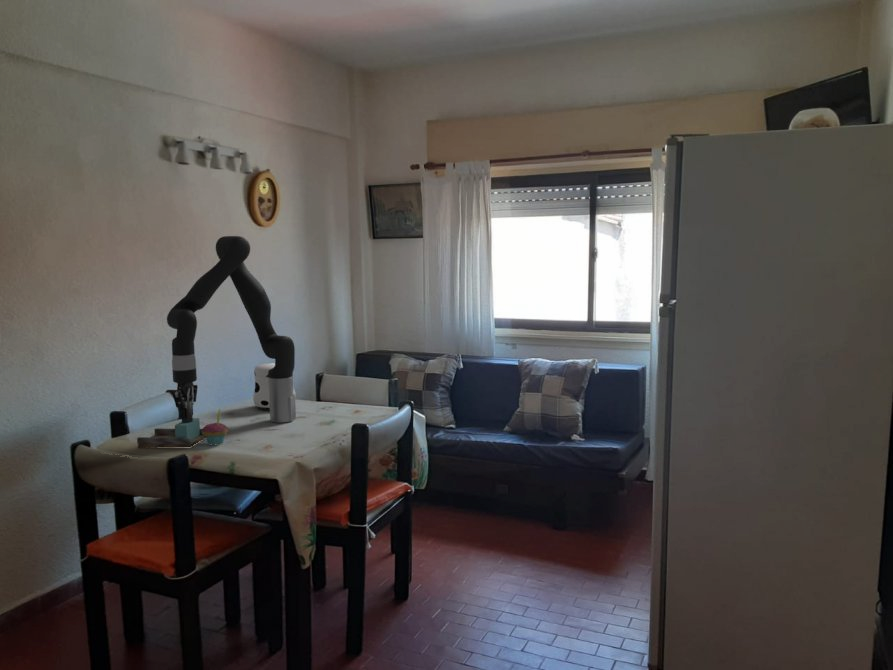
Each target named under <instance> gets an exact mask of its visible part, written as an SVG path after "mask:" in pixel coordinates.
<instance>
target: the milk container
mask: <svg viewBox="0 0 893 670" xmlns="http://www.w3.org/2000/svg"><path fill="white" fill-rule="evenodd" d="M274 366H275V362H274V363H272V362H271V363H270V362H269V363H263V364H257V365H255V366H254V391H253V395H252V396H253V403H254V406H255V407H256V408H258V409H262V410H267V411H268V410H269V411H270V407H269V382H268V371H269V370H270V369H272V368H274ZM293 395H295V398H296V390H295V387H294V386H293Z"/></svg>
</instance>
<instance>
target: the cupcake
mask: <svg viewBox="0 0 893 670" xmlns="http://www.w3.org/2000/svg"><path fill="white" fill-rule="evenodd" d="M220 418H221V409H219V410H218V411H217V418H216V419H217V420H216V422H214V423H208V424H206V425H205V426H203V428H201V429H202V435H203V436H205V437H206V439H205V440H206V442H207V444H208V445H209V444H212V445H211V446H216V445H215V444H220V445H222V444H223V443H224V440H225V437H226V434H228V432H229V431H228V430H229V427H228V426H227V425H226V424H223V423H221V422H220ZM221 443H222V444H221Z"/></svg>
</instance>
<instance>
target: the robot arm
mask: <svg viewBox="0 0 893 670" xmlns="http://www.w3.org/2000/svg"><path fill="white" fill-rule="evenodd" d="M249 242H250V241H248V240H247V239H246V238H245V237H244V236H238V235H226V236H221V237H219V238H218V239H217V241H216V243H215V252H216V255H217V257H218V262H217V263H216V264H215V265H213V266H212V267H211V269H209V270H208V271H207V272H205V273H204V274H203V275H202V276H200V277H199V279H197V280H196V281H195V283H194V284H193V285H192V286H191V288H190V289H189V290H188V292H187V293H186V295H185V296H183V298H181V299H180V300H179V301H178V302H177V303H176V304H175V305H174V306H173V307H172V308H170V310H169V312H168V313H167V315H166V323H167V325H168V327H170V328H171V329H173V330H176V337H173V339H171V352H172V353H171V354H172V355H171V356H172V358H171V364H172V365H171V366H172V367H171V368H172V382H173V383H176V384H177V385H176V386H177V387H176V391H173V392H172V397H173V401H174V404H175V408H178V409H179V413H180V420H182V419H187V418H188V412H187V402H188V401H192V417H193V416H194V404H195V403H196V402H197V394H198V384H194V382H196V381H197V379H198V377H197V376H198V375H197V361H196V354H195V352H196V351H195V338H196V332H197V326H198V319H197V317H196V316H197V315H196V314H195V313H196V312H197V311H200V310H203V309H204V308H205V307H206V305H207V304H208V303H209V301H210V300H211V298H212V297H213V296H214V294H215V293H216V291H217V290H218V289H219V288H220V287H221V285H222V284H223V283H224V282H225V281H226V279H227V280H228V277H230V279H231V281H232V283H233V286H234V287H235V289H236V291H237V293H238V296H239V299H241V300H240V301H241V303H242V305H243V306H244V310H245V311H246V313H247V314H248V317H249V319H250V321H251V323H252V325H253V327H254V330H255V332H256V334H257V337H258V340H259V343H260V346H261V349H262V352H263V353H264V355H265V356H266V357H267V358H269V359H273V360H274V361H275V362H274V363H275V366H274V368H272V369H270V370H269V371H268V382H269V407H270V410H269V421H270V422H271V423H277V424H278V423H291V422H293V421H294V420H295V419H297V417H296V416H297V413H296V412H297V411H296V397H295V395H296V394H295V395H293V387H294V376H293V375H294V374H293V373H294V370H295V364H296V362H295V357H296V356H295V355H296V353H295V352H296V349H295V348H296V347H295V342H294V341H293V338H291V337H290V336H287V335H279V334H277V332H276V330H275V329H274V326H273V324H272V321H271V313H272V304H271V301H270V299H269V297H268V295H267V292H266V289H265V288H264V287H263V285H262V284H261V283H260V281H259V280H258V279H257V278H256V277H255V276H254V275H253V274H252V273H251V272H250V271H249V270H248V269H249V268H247V266H246V265H245V261H246V260H247V259H248V257H249V255H250V252H251V245H250V243H249Z"/></svg>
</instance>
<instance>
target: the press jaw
mask: <svg viewBox="0 0 893 670" xmlns="http://www.w3.org/2000/svg"><path fill="white" fill-rule="evenodd" d="M187 412H188V418H187V419H181V421H180V422H178V423H177V424H175V425H174V429H175V438H191V440H193V439H195V438H196V437H198V436H199V435H200V429H201V426H200V425H201V423H200V418H199V417H198V418H196V417H194V418H193V416H192V401H188V402H187Z"/></svg>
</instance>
